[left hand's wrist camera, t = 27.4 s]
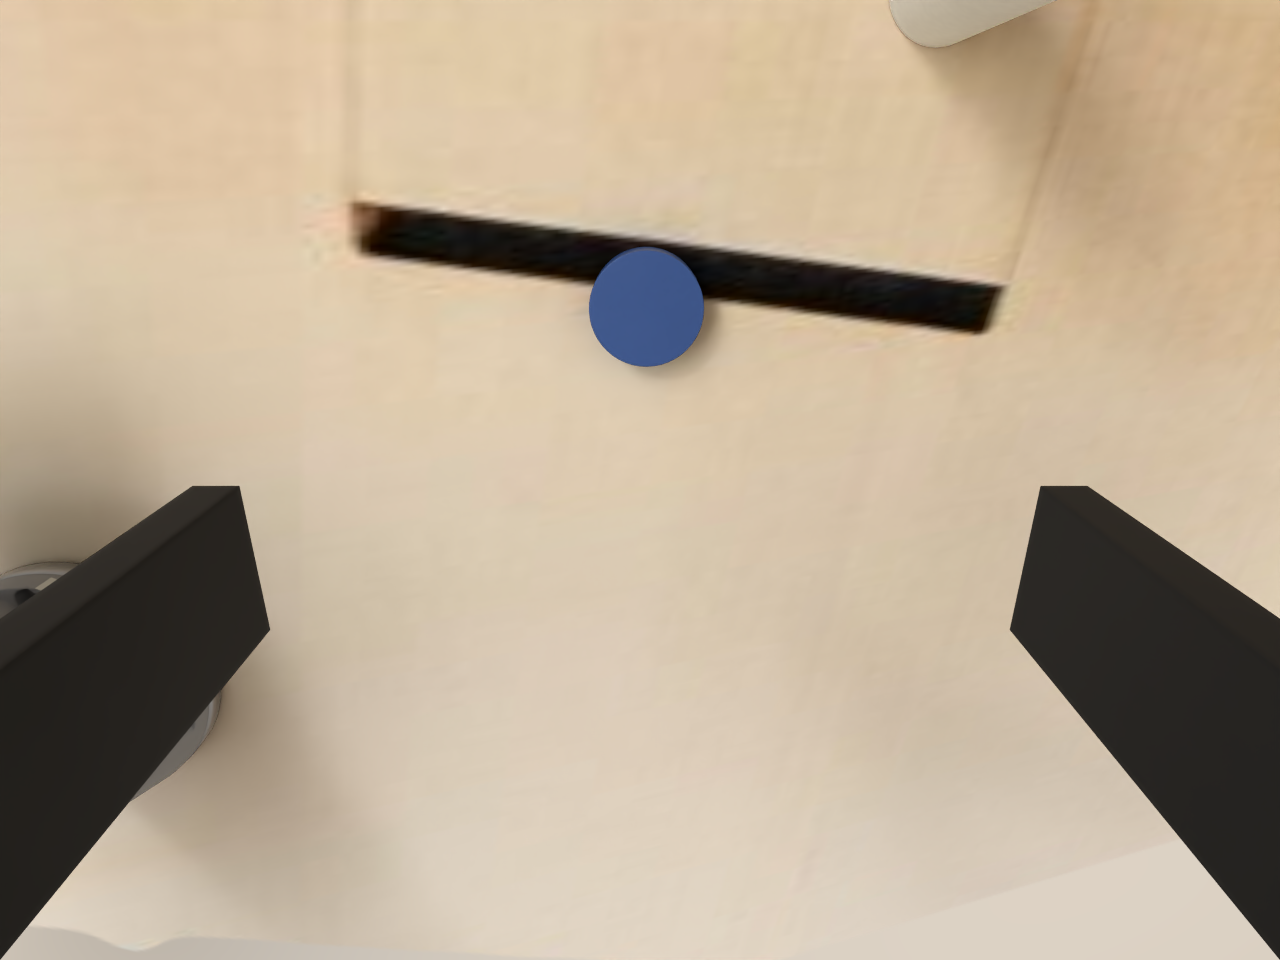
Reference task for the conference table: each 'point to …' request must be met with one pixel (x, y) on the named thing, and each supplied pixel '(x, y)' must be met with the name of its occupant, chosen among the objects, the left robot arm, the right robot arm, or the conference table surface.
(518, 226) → the conference table surface
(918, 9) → the jar
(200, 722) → the left robot arm
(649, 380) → the conference table surface
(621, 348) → the lid
